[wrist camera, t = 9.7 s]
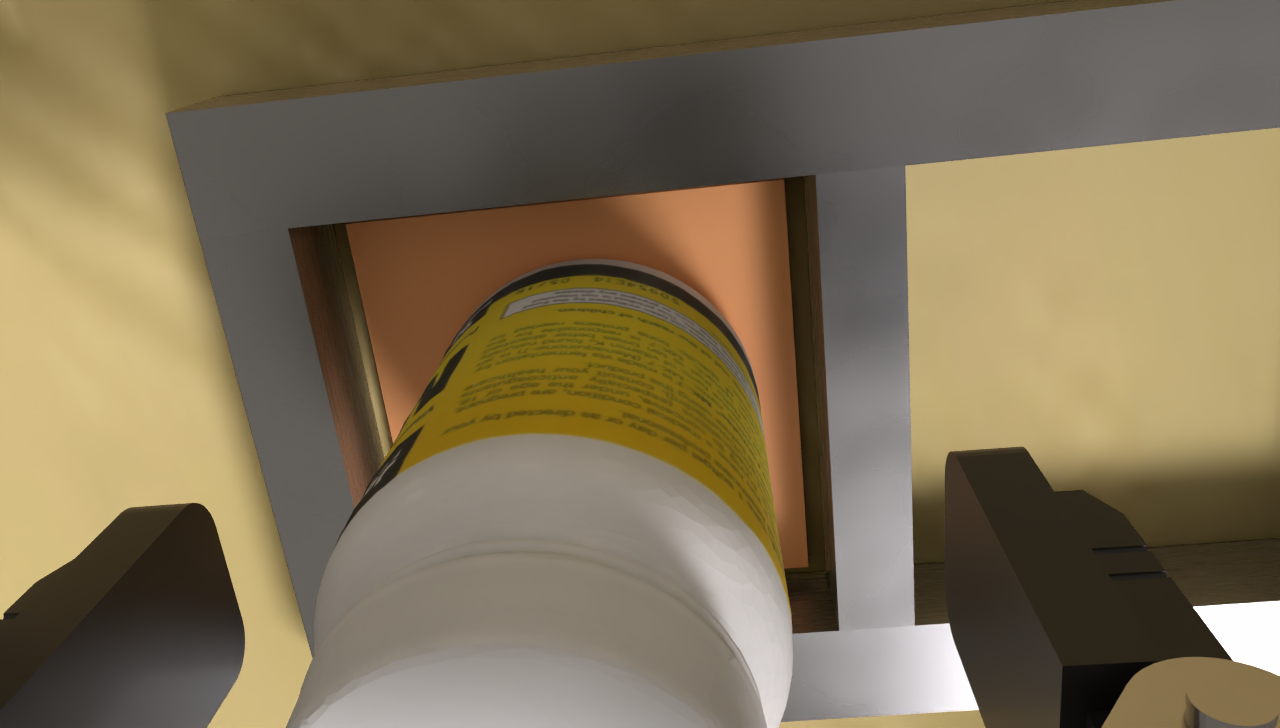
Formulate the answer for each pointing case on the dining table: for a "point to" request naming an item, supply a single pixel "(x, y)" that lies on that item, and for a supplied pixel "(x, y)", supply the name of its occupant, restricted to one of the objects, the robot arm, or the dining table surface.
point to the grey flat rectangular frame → (701, 156)
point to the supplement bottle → (565, 527)
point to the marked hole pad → (595, 229)
